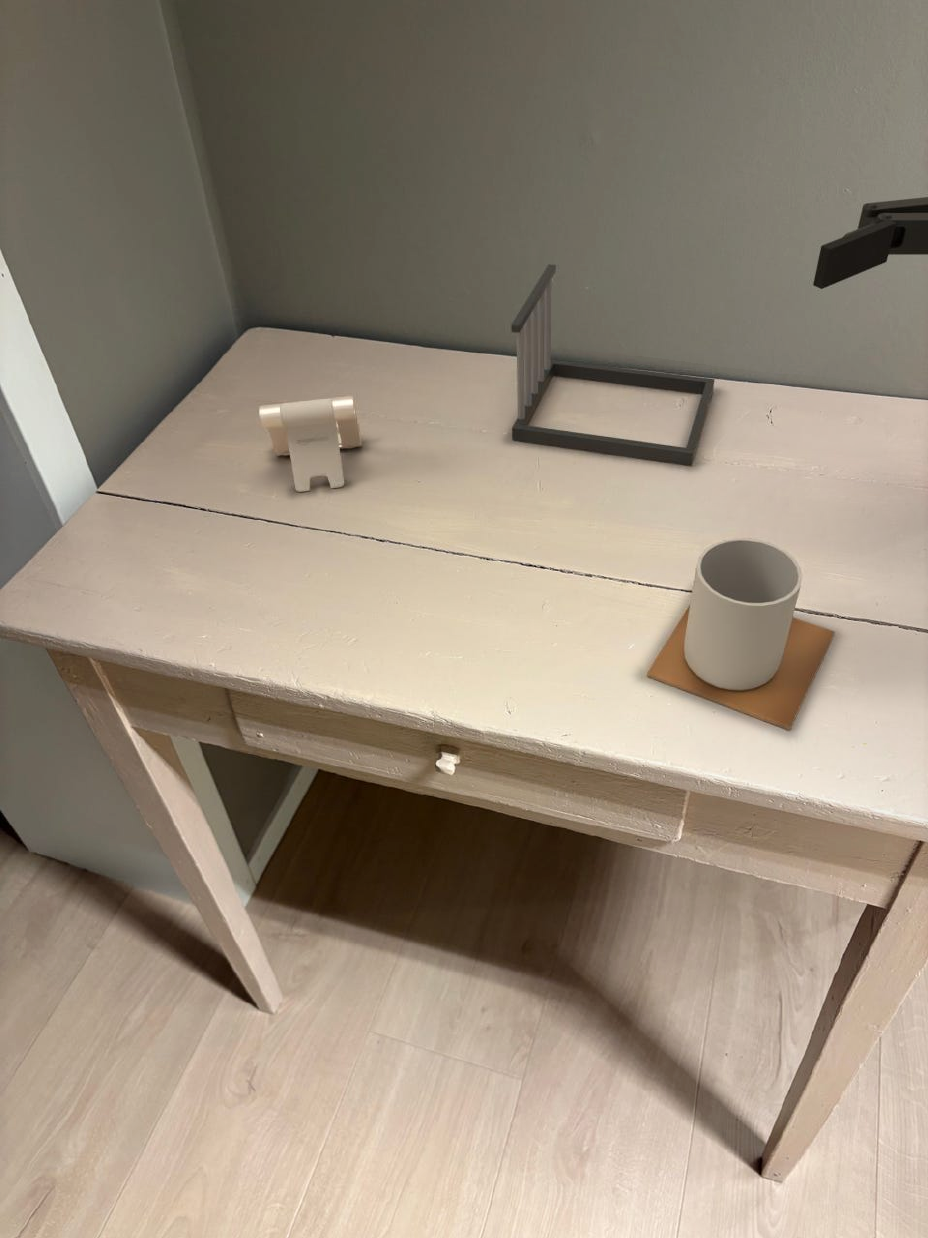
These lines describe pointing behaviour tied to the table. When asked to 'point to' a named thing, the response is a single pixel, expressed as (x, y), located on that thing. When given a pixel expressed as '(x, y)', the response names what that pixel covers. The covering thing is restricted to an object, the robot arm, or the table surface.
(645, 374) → the dish rack
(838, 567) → the table surface
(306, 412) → the tablet stand
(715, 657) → the cup
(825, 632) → the cork pad
